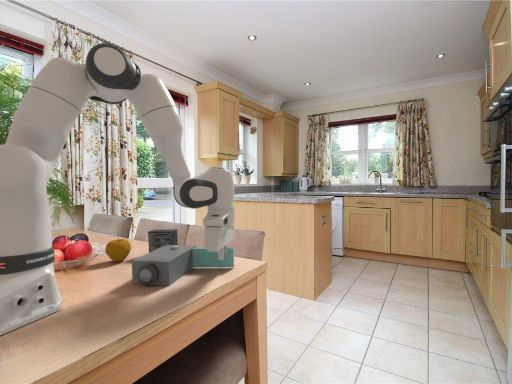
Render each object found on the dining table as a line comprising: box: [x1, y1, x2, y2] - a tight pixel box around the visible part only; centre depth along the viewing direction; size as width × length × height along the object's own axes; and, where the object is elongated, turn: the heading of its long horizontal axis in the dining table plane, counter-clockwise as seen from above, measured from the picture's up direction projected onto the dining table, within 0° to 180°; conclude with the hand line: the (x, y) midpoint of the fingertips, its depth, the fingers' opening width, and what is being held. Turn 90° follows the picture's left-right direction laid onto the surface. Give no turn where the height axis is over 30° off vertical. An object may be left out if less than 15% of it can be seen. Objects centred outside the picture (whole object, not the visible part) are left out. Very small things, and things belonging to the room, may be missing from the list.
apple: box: [104, 238, 132, 263], centre depth 104 cm, size 9×9×9 cm
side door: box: [192, 247, 235, 269], centre depth 93 cm, size 14×2×7 cm, turn 86°
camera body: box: [131, 244, 198, 287], centre depth 87 cm, size 22×12×8 cm, turn 169°
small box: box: [147, 228, 179, 253], centre depth 113 cm, size 11×6×10 cm, turn 84°
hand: (222, 258), depth 88 cm, fingers closed
